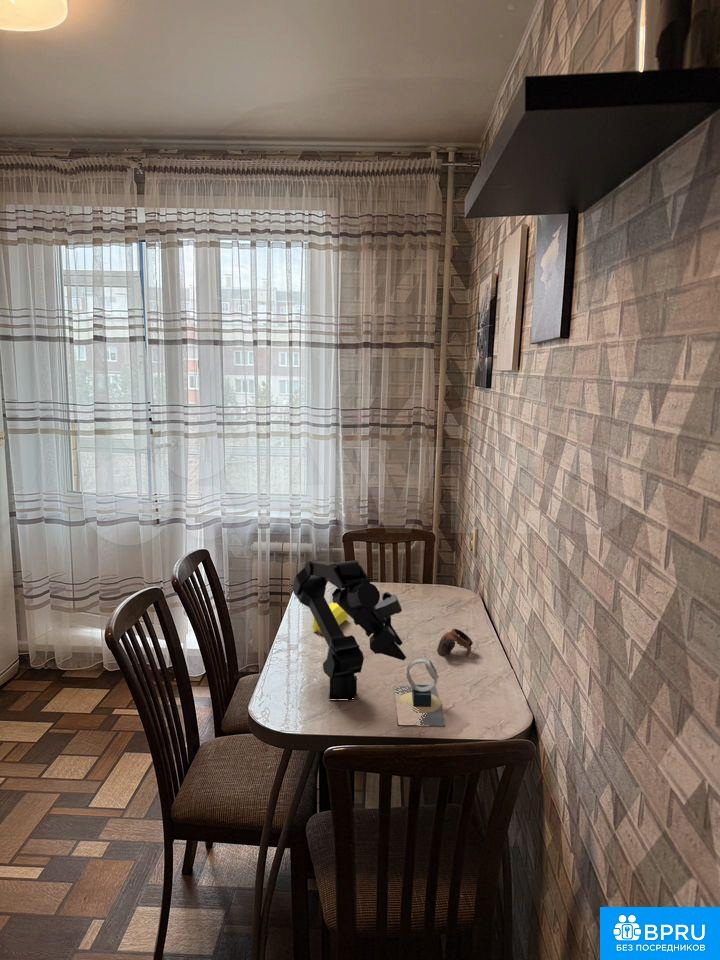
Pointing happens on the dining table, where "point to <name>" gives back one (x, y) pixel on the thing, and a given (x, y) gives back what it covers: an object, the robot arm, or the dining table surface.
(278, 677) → the dining table surface
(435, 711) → the mat
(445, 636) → the brown curved piece
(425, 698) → the watch
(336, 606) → the yellow faceted lump
